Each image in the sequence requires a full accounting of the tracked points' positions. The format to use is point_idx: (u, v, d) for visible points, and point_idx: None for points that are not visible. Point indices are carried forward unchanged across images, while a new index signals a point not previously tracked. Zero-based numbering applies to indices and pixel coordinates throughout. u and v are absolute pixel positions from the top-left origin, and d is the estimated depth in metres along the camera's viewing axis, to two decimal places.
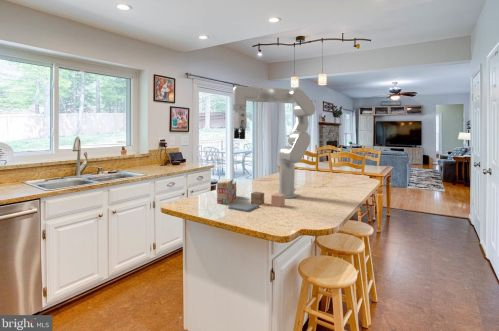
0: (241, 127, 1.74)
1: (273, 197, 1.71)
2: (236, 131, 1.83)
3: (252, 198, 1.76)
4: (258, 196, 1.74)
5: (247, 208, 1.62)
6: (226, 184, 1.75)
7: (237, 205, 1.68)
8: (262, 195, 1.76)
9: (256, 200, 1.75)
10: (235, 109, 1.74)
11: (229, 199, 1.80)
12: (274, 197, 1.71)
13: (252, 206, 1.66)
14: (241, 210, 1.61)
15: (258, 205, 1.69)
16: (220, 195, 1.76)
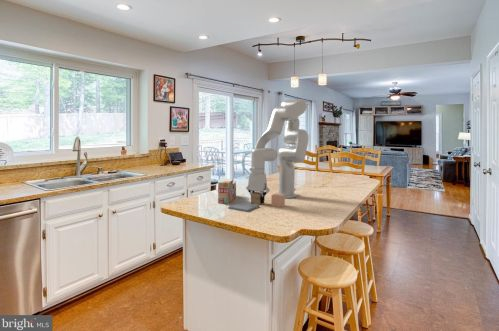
0: None
1: (273, 197, 1.71)
2: None
3: (252, 198, 1.76)
4: (258, 196, 1.74)
5: (247, 208, 1.62)
6: (227, 184, 1.75)
7: (237, 205, 1.68)
8: None
9: (256, 200, 1.75)
10: None
11: (230, 199, 1.80)
12: (274, 197, 1.71)
13: (252, 206, 1.66)
14: (241, 210, 1.61)
15: (258, 205, 1.69)
16: (221, 195, 1.77)
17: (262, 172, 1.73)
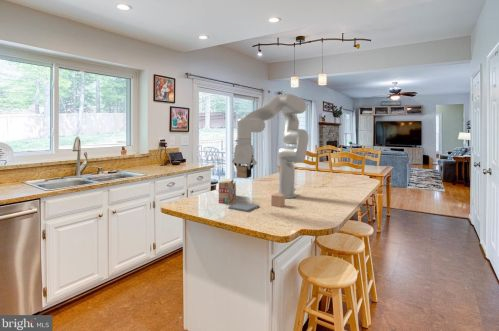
0: None
1: (273, 197, 1.71)
2: None
3: (238, 171, 1.64)
4: (244, 168, 1.61)
5: (247, 208, 1.62)
6: (228, 184, 1.76)
7: (237, 205, 1.68)
8: None
9: (242, 173, 1.62)
10: None
11: (230, 198, 1.81)
12: (274, 197, 1.71)
13: (252, 206, 1.66)
14: (241, 210, 1.61)
15: (258, 205, 1.69)
16: (222, 195, 1.77)
17: (249, 143, 1.61)
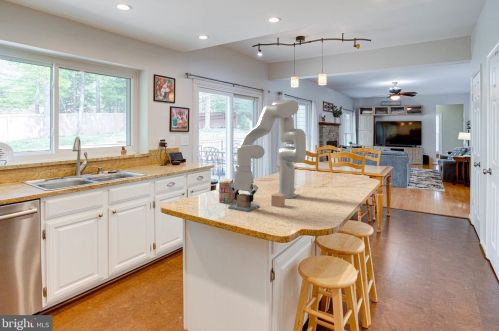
0: None
1: (273, 197, 1.71)
2: None
3: (238, 200, 1.66)
4: (244, 198, 1.63)
5: (247, 208, 1.62)
6: (228, 183, 1.76)
7: None
8: (248, 197, 1.66)
9: (242, 202, 1.64)
10: None
11: (231, 198, 1.82)
12: (274, 197, 1.71)
13: (252, 206, 1.66)
14: (241, 210, 1.61)
15: (258, 205, 1.69)
16: (223, 195, 1.78)
17: (248, 170, 1.62)
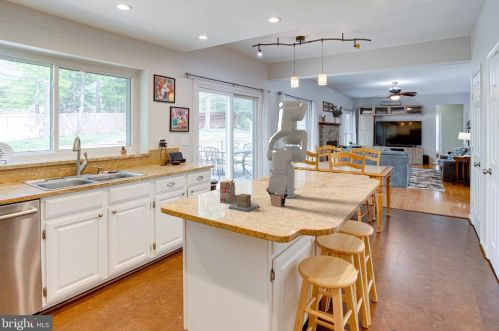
0: None
1: (273, 197, 1.71)
2: None
3: (238, 200, 1.66)
4: (244, 198, 1.63)
5: (247, 208, 1.62)
6: (229, 183, 1.77)
7: None
8: (248, 197, 1.66)
9: (242, 202, 1.64)
10: None
11: (231, 198, 1.83)
12: (274, 197, 1.71)
13: (252, 206, 1.66)
14: (241, 210, 1.61)
15: (258, 205, 1.69)
16: (223, 194, 1.78)
17: (283, 173, 1.68)
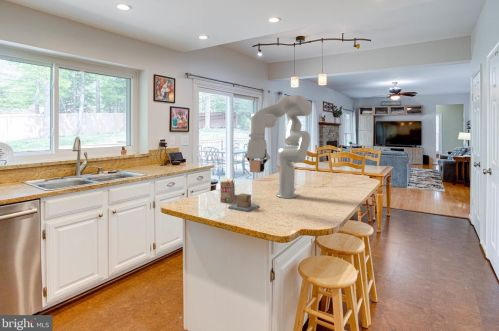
0: None
1: (252, 162, 1.65)
2: None
3: (238, 200, 1.66)
4: (244, 198, 1.63)
5: (247, 208, 1.62)
6: (230, 183, 1.78)
7: None
8: (248, 197, 1.66)
9: (242, 202, 1.64)
10: None
11: (231, 198, 1.83)
12: (253, 162, 1.64)
13: (252, 206, 1.66)
14: (241, 210, 1.61)
15: (258, 205, 1.69)
16: (224, 194, 1.79)
17: (262, 138, 1.62)
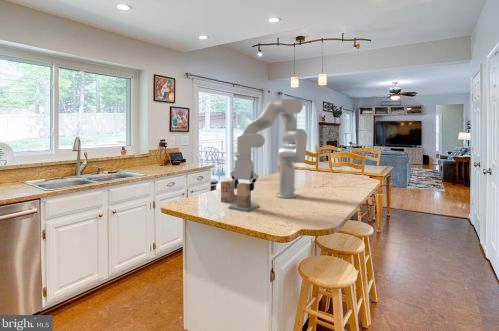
0: None
1: (238, 186, 1.64)
2: None
3: (238, 200, 1.66)
4: (244, 198, 1.63)
5: (247, 208, 1.62)
6: (230, 183, 1.78)
7: None
8: (248, 197, 1.66)
9: (242, 202, 1.64)
10: None
11: None
12: (239, 186, 1.64)
13: (252, 206, 1.66)
14: (241, 210, 1.61)
15: (258, 205, 1.69)
16: (224, 194, 1.79)
17: (248, 159, 1.62)
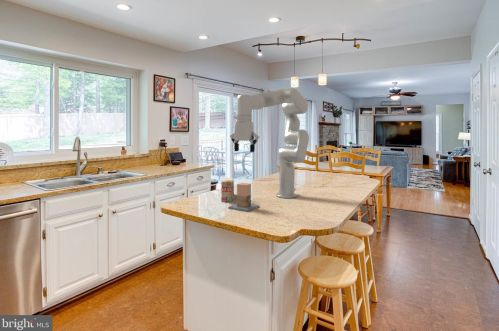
0: None
1: (238, 186, 1.64)
2: None
3: (238, 200, 1.66)
4: (244, 198, 1.63)
5: (247, 208, 1.62)
6: (230, 183, 1.79)
7: None
8: (248, 197, 1.66)
9: (242, 202, 1.64)
10: None
11: (232, 197, 1.84)
12: (239, 186, 1.64)
13: (252, 206, 1.66)
14: (241, 210, 1.61)
15: (258, 205, 1.69)
16: (225, 194, 1.80)
17: (249, 119, 1.59)
